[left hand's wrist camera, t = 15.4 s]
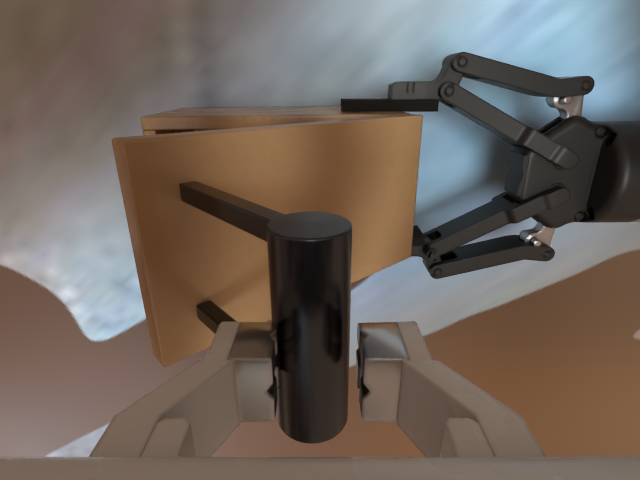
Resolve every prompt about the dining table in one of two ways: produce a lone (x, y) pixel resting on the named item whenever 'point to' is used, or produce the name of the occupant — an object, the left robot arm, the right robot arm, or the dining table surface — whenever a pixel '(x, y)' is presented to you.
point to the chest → (245, 117)
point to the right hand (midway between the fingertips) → (340, 174)
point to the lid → (270, 241)
